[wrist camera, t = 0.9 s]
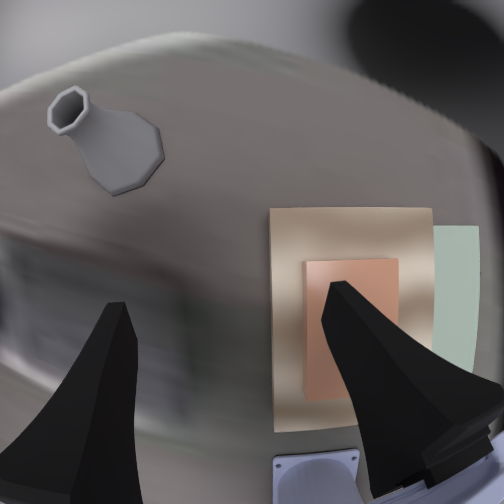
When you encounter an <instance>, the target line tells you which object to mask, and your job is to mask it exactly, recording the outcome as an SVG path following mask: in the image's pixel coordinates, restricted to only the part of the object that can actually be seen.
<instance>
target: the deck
mask: <svg viewBox="0 0 504 504" xmlns="http://www.w3.org/2000/svg"><path fill="white" fill-rule="evenodd" d="M268 230H269V262H270V300H271V347H272V410H273V423H274V432H291V431H306V430H318V429H328V428H337V427H345V426H353V425H358V422H357V418H356V415H355V411H354V408H353V404H352V401H351V398H341V399H331V400H320V401H308V402H306V399H305V396H304V393H303V283H302V261H317V260H346V259H373V258H398V261H399V305H398V327H399V328H400V329H402V330H403V331H404V332H405V333H407V334H408V335H409V336H411V337H412V338H413V339H415V340H416V341H417V342H419V343H420V344H422V345H423V346H425V347H426V348H428V349H429V350H430V351H431V349H432V337H433V321H434V295H435V257H434V231H433V216H432V208H403V207H310V208H270V209H269V214H268Z"/></svg>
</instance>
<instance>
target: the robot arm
mask: <svg viewBox="0 0 504 504" xmlns="http://www.w3.org/2000/svg"><path fill="white" fill-rule="evenodd" d="M321 323H322V327H323V331H324V334H325V337H326V341H327V344H328V346H329V349H330V351H331V354H332V356H333V358H334V361H335V363H336V365H337V367H338V370H339V372H340V374H341V377H342V379H343V381H344V383H345V386H346V388H347V390H348V393H349V396H350V398H351V401H352V404H353V408H354V411H355V415H356V418H357V422H358V425H359V429H360V433H361V437H362V442H363V446H364V451H365V456H366V461H367V468H368V474H369V481H370V490H371V493H372V496H373V498H374V499H375V498H378V497H381V496H383V495H386V494H388V493H391V492H393V491H395V490H398V489H400V488H404V489H402V490H399V491H397V492H395V493H392V494H390V495H387V496H385V497H382V498H380V499H377V500H375V501H372V502H369V503H366V504H499V503H500V502H501V501H502V500H503V499H504V431H502V432H501V433H499V434H498V435H496V436H495V437H494V438H492V439H491V440H489V438H488V436H487V435H489V434H490V432H491V431H490V429H489V427H488V425H489V424H490V423H491V422H493V421H494V420H495V419H496V418H497V417H498V416H500V415H501V414H502V413H503V412H504V390H503V388H502V386H501V385H500V384H498V383H495V382H492V381H490V380H487V379H484V378H482V377H479V376H477V375H474V374H472V373H470V372H468V371H466V370H464V369H462V368H460V367H458V366H456V365H454V364H452V363H450V362H449V361H447V360H445V359H444V358H442V357H440V356H438V355H437V354H435V353H434V352H432V351H430V350H429V349H428V348H426V347H425V346H423V345H422V344H420V343H419V342H417V341H416V340H415V339H413V338H412V337H411V336H409V335H408V334H407V333H405V332H404V331H403V330H402V329H400V328H399V327H398V326H397V325H395V324H394V323H393V322H392V321H391V320H390V319H388V318H387V317H386V316H385V315H384V314H383V313H381V312H380V311H379V310H378V309H377V308H376V307H375V306H374V305H373V304H371V303H370V302H369V301H368V300H367V299H366V298H365V297H364V296H363V295H362V294H360V293H359V292H358V291H357V290H356V289H355V288H354V287H353V286H352V285H351V284H349V283H348V282H347V281H346V280H343V281H335V282H330V286H329V290H328V294H327V298H326V302H325V306H324V310H323V313H322V317H321ZM137 371H138V341H137V337H136V334H135V331H134V328H133V326H132V323H131V320H130V317H129V314H128V311H127V308H126V305H125V302H113V303H108V304H107V305H106V306H105V308H104V310H103V312H102V314H101V316H100V318H99V320H98V321H97V323H96V325H95V327H94V329H93V331H92V333H91V334H90V336H89V338H88V340H87V342H86V343H85V345H84V347H83V349H82V351H81V352H80V354H79V356H78V357H77V359H76V361H75V362H74V364H73V366H72V367H71V369H70V370H69V372H68V374H67V375H66V377H65V378H64V380H63V381H62V383H61V384H60V386H59V387H58V389H57V390H56V392H55V393H54V394H53V396H52V397H51V398H50V400H49V401H48V402H47V404H46V405H45V406H44V408H43V409H42V410H41V411H40V413H39V414H38V415H37V416H36V418H35V419H34V420H33V421H32V422H31V423H30V424H29V425H28V426H27V428H26V429H25V430H24V431H23V432H22V433H21V434H20V435H19V436H18V437H17V438H16V439H15V441H14V442H12V443H11V444H10V445H9V446H8V447H7V448H6V449H5V450H4V451H3V452H2V453H1V454H0V501H1V502H3V503H6V504H143V501H142V496H141V490H140V484H139V477H138V470H137V461H136V452H135V439H134V411H135V396H136V384H137ZM359 455H360V452H359V450H358V449H348V450H341V451H333V452H324V453H314V454H302V455H287V456H276V457H274V458H273V504H364V503H363V500H362V498H361V495H360V493H359V491H358V488H357V486H356V483H355V480H356V474H357V468H358V461H359ZM354 456H355V458H353V459H352V457H354ZM277 464H281V465H280V466H277Z"/></svg>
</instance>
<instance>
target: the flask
mask: <svg viewBox="0 0 504 504" xmlns="http://www.w3.org/2000/svg"><path fill="white" fill-rule="evenodd" d="M47 126H49V127H50V128H51V129H52V130H53V131H54V132H55V133H56V134H57V135H59V136H63V135H65V134H66V135H68V136H69V137H71V139H72V140H73V141H74V142H75V143H76V145H77V147H78V149H79V151H80V153H81V155H82V157H83V159H84V161H85V164H86V166H87V168H88V171H89V173H90V175H91V177H92V178H93V179H94V180H95V181H96V182H97V183H98V184H99V185H100V186H102V187H103V188H104V189H105V190H106V191H107V192H108V193H110V194H111V195H112V196H115V195H117V194H120V193H123V192H126V191H129V190H132V189H134V188H137V187H140V186H143V185H144V183H145V182H146V181H147V180H148V178H149V177H150V176H151V174H152V173H153V172H154V171H155V169H156V168H157V167H158V166H159V164H160V163H161V162H162V161H163V159H164V154H163V149H162V144H161V139H160V134H159V129H158V128H157V127H156V126H154V125H153V124H151V123H150V122H149V121H147V120H146V119H144V118H143V117H141V116H140V115H138V114H137V113H134V112H126V111H117V110H112V109H106V108H101V107H99V106H97V105H94V104H92V103H91V102H90V96H89V94H88V93H87V92H85V91H84V90H83V89H81V88H80V87H78V86H77V85H75V86H73V87H70V88H68V89H67V90H65V91H63V92H61V93H59V94H58V96H57V97H56V98H55V100H54V101H53V102H52V103H51V105H50V106H49V107H48V109H47Z"/></svg>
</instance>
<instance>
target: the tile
mask: <svg viewBox="0 0 504 504" xmlns="http://www.w3.org/2000/svg"><path fill="white" fill-rule="evenodd" d="M343 280H346V281H347V282H348V283H349V284H351V285H352V286H353V287H354V288H355V289H356V290H357V291H358V292H359V293H360V294H362V295H363V296H364V297H365V298H366V299H367V300H368V301H369V302H370V303H371V304H373V305H374V306H375V307H376V308H377V309H378V310H379V311H380V312H381V313H383V314H384V315H385V316H386V317H387V318H388V319H390V320H391V321H392V322H393V323H394V324H395V325H397V326H398V305H399V261H398V258H373V259H346V260H317V261H302V283H303V393H304V396H305V399H306V402H308V401H320V400H331V399H341V398H350V396H349V393H348V390H347V388H346V386H345V383H344V381H343V379H342V377H341V374H340V372H339V370H338V367H337V365H336V363H335V361H334V358H333V356H332V354H331V351H330V349H329V346H328V344H327V341H326V337H325V334H324V331H323V327H322V323H321V317H322V313H323V310H324V306H325V302H326V298H327V294H328V290H329V286H330V282H335V281H343Z"/></svg>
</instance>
